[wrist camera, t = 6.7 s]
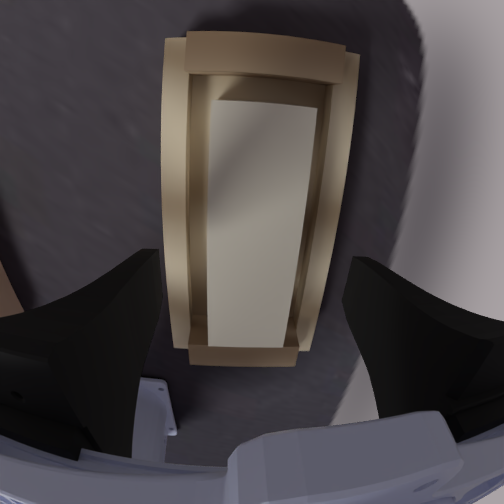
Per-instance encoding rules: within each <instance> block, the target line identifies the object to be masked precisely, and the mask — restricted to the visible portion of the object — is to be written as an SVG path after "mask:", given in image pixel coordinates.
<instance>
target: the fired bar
mask: <svg viewBox="0 0 504 504" xmlns="http://www.w3.org/2000/svg"><path fill="white" fill-rule="evenodd" d="M22 312H24V310H23V308H22V306H21V304H20V302H19V300H18V298H17V296H16V294H15V292H14V290H13V288H12V286H11V284H10V282H9V279H8V277H7V275H6V273H5V270H4V268H3V266H2V264H1V261H0V317H5V316H10V315H14V314H18V313H22Z"/></svg>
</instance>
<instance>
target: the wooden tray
mask: <svg viewBox="0 0 504 504" xmlns="http://www.w3.org/2000/svg"><path fill="white" fill-rule="evenodd" d="M345 51H346V46H345V45H340V44H335V43H330V42H324V41H319V40H313V39H306V38H299V37H292V36H283V35H274V34H264V33H250V32H231V31H187V36H186V37H182V38H165V51H164V66H163V85H162V112H161V187H162V216H163V236H164V252H165V266H166V279H167V290H168V301H169V311H170V320H171V329H172V337H173V345H174V348H184V349H188V351H189V361H190V365H208V366H238V367H289V366H295V364H296V360H297V356H298V352H299V351H309V350H310V346H311V342H312V338H313V334H314V330H315V326H316V322H317V318H318V314H319V310H320V306H321V301H322V297H323V293H324V288H325V284H326V279H327V275H328V270H329V265H330V261H331V256H332V251H333V246H334V241H335V236H336V230H337V225H338V220H339V214H340V208H341V203H342V197H343V191H344V185H345V178H346V172H347V165H348V159H349V152H350V144H351V137H352V129H353V121H354V112H355V103H356V94H357V84H358V73H359V61H360V55H359V54H355V53H350V52H345ZM211 100H240V101H256V102H270V103H281V104H291V105H299V106H306V107H312V108H317V117H316V126H315V135H314V144H313V153H312V161H311V170H310V178H309V186H308V193H307V201H306V208H305V215H304V222H303V229H302V236H301V243H300V250H299V256H298V263H297V269H296V275H295V281H294V287H293V293H292V299H291V305H290V311H289V317H288V322H287V328H286V334H285V339H284V344H283V347H281V348H264V347H218V346H208V314H207V206H208V165H209V138H210V116H211Z"/></svg>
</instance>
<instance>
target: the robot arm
mask: <svg viewBox="0 0 504 504" xmlns="http://www.w3.org/2000/svg"><path fill="white" fill-rule="evenodd" d="M162 298H163V293H162V283H161V272H160V260H159V249H141V250H139V251H138V252H136V253H135V254H133V255H132V256H130V257H129V258H128V259H126V260H125V261H123V262H122V263H121V264H119V265H118V266H116V267H115V268H113V269H112V270H111V271H109V272H107V273H106V274H104V275H103V276H101V277H100V278H98V279H97V280H95V281H93V282H92V283H90V284H89V285H87V286H85V287H83V288H81V289H79V290H78V291H76V292H74V293H72V294H70V295H68V296H65V297H63V298H61V299H58V300H56V301H53V302H51V303H49V304H46V305H44V306H41V307H38V308H35V309H32V310H29V311H25V312H22V313H18V314H14V315H10V316H5V317H0V504H472V503H474V502H476V501H478V500H480V499H481V498H483V497H485V496H487V495H488V494H490V493H491V492H493V491H495V490H496V489H498V488H500V487H501V486H503V485H504V321H500V320H495V319H491V318H488V317H485V316H481V315H478V314H475V313H472V312H470V311H467V310H465V309H462V308H459V307H457V306H454V305H452V304H450V303H448V302H446V301H444V300H442V299H440V298H437V297H435V296H433V295H432V294H430V293H428V292H426V291H424V290H423V289H421V288H419V287H417V286H416V285H414V284H412V283H411V282H409V281H407V280H406V279H404V278H403V277H401V276H399V275H398V274H396V273H395V272H393V271H392V270H390V269H388V268H387V267H385V266H384V265H382V264H380V263H378V262H377V261H375V260H373V259H371V258H369V257H356V256H353V258H352V262H351V266H350V271H349V275H348V279H347V283H346V287H345V290H344V294H343V298H342V303H343V307H344V311H345V315H346V318H347V322H348V324H349V327H350V329H351V332H352V334H353V336H354V339H355V341H356V343H357V346H358V348H359V350H360V353H361V355H362V357H363V360H364V362H365V365H366V367H367V370H368V373H369V376H370V380H371V384H372V388H373V391H374V395H375V400H376V405H377V410H378V415H379V419H376V420H370V421H364V422H357V423H349V424H342V425H333V426H324V427H313V428H300V429H291V430H286V431H280V432H274V433H267V434H263V435H261V436H259V437H256V438H254V439H252V440H249V441H247V442H244V443H242V444H241V445H239V446H238V447H237V448H236V449H235V450H234V452H233V453H232V454H231V456H230V457H229V458H228V467H211V466H193V465H180V464H170V463H164V459H165V451H166V443H167V435H177V428H176V423H175V419H174V415H173V410H172V406H171V401H170V396H169V391H168V386H167V383H166V382H165V381H164V380H161V379H152V378H143V377H141V373H142V369H143V365H144V362H145V359H146V356H147V353H148V349H149V346H150V343H151V340H152V337H153V334H154V331H155V328H156V325H157V322H158V319H159V314H160V309H161V303H162Z"/></svg>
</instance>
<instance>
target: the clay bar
mask: <svg viewBox="0 0 504 504" xmlns="http://www.w3.org/2000/svg"><path fill="white" fill-rule="evenodd" d="M316 117H317V108H312V107H306V106H299V105H291V104H281V103H270V102H256V101H240V100H211V116H210V138H209V165H208V206H207V314H208V346H218V347H264V348H281V347H283V344H284V339H285V334H286V328H287V322H288V317H289V311H290V305H291V299H292V293H293V287H294V281H295V275H296V269H297V263H298V256H299V250H300V243H301V236H302V229H303V222H304V215H305V208H306V201H307V193H308V186H309V178H310V170H311V161H312V153H313V144H314V135H315V126H316Z"/></svg>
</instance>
